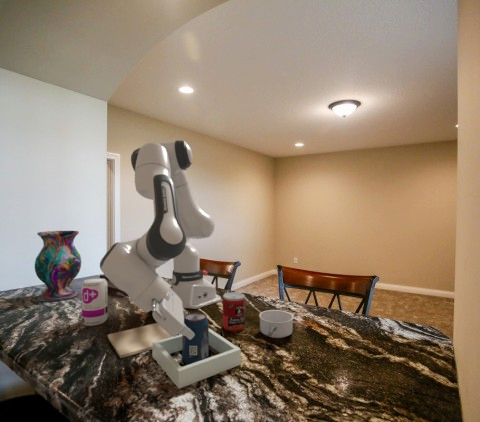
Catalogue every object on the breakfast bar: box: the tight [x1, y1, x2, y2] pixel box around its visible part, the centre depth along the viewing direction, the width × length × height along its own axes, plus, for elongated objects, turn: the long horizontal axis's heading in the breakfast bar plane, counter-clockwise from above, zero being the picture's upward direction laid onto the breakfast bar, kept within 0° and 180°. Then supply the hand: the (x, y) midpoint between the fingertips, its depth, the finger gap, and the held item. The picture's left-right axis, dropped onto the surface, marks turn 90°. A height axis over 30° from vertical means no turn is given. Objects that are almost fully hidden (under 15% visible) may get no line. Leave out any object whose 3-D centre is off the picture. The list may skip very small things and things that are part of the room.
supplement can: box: [81, 277, 108, 327], centre depth 103 cm, size 8×8×15 cm
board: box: [107, 322, 173, 359], centre depth 89 cm, size 16×16×1 cm
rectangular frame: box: [151, 328, 242, 390], centre depth 77 cm, size 17×17×4 cm
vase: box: [34, 230, 82, 302], centre depth 133 cm, size 18×18×30 cm
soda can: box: [181, 311, 210, 365], centre depth 77 cm, size 7×7×12 cm
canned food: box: [222, 291, 246, 332], centre depth 99 cm, size 8×8×11 cm
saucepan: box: [258, 309, 295, 339], centre depth 91 cm, size 12×20×6 cm, turn 165°
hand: (191, 328), depth 77 cm, fingers open, 8 cm apart
